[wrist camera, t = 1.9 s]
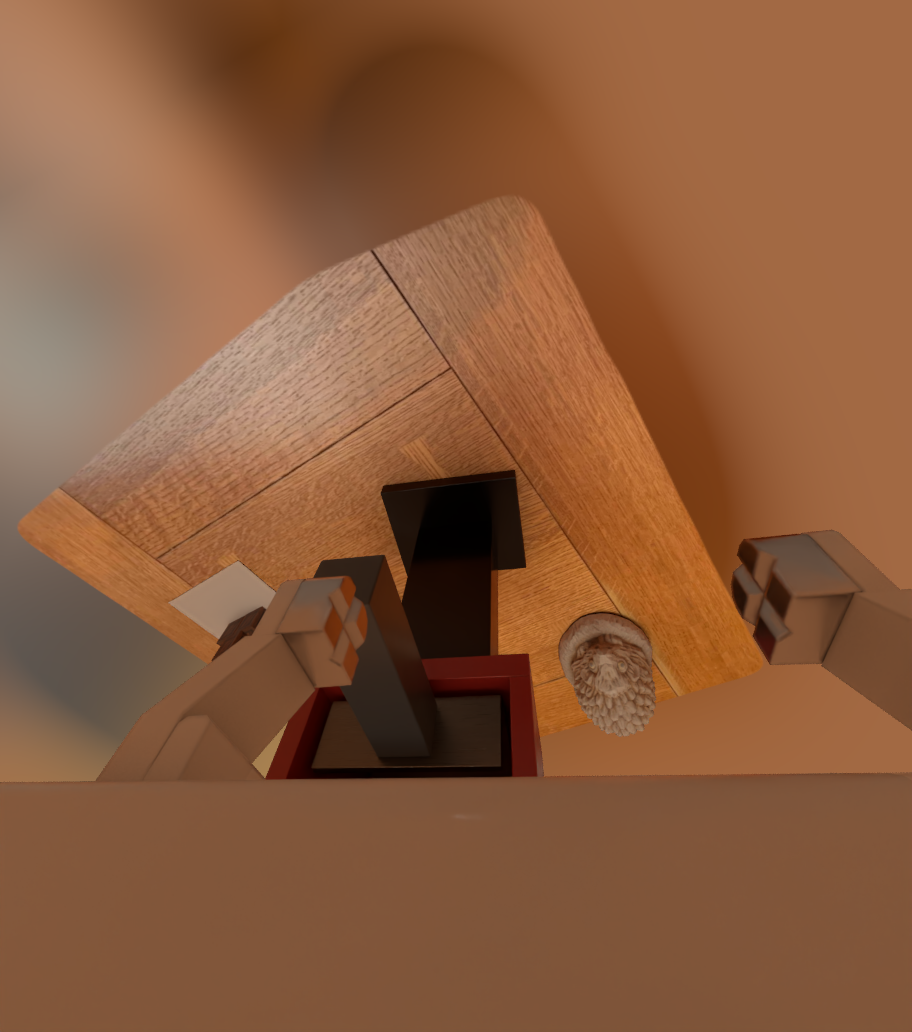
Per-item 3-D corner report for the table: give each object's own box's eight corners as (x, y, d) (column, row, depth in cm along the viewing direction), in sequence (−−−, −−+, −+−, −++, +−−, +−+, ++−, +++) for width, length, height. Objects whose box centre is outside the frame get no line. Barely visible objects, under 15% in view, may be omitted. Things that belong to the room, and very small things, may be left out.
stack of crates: (238, 560, 55) (209, 600, 49) (322, 630, 61) (304, 673, 56) (168, 602, 60) (135, 643, 55) (252, 662, 67) (229, 704, 61)
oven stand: (383, 485, 47) (217, 895, 19) (515, 469, 45) (547, 908, 17) (409, 569, 53) (315, 964, 26) (525, 559, 51) (561, 980, 23)
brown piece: (253, 557, 21) (205, 625, 17) (469, 535, 19) (463, 607, 16) (375, 772, 32) (361, 838, 29) (516, 770, 31) (519, 841, 27)
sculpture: (645, 604, 54) (672, 675, 46) (653, 685, 63) (677, 756, 55) (548, 619, 57) (557, 688, 48) (569, 694, 66) (580, 764, 57)
